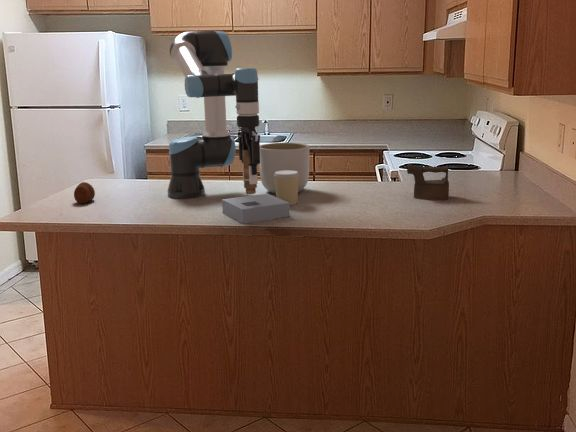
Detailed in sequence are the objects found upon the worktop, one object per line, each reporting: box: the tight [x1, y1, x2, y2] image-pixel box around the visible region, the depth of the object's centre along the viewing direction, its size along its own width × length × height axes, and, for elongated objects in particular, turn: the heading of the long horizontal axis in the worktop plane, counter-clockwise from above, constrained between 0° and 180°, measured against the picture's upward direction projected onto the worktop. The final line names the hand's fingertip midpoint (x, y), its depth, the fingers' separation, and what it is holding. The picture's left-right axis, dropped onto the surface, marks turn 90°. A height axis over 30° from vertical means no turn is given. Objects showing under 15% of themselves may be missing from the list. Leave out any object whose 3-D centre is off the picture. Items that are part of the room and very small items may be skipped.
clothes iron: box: [406, 163, 450, 201], centre depth 246 cm, size 8×16×13 cm, turn 87°
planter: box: [258, 142, 310, 195], centre depth 262 cm, size 21×21×19 cm
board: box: [221, 193, 291, 225], centre depth 227 cm, size 18×18×5 cm
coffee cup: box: [274, 170, 299, 206], centre depth 243 cm, size 9×9×12 cm
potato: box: [73, 181, 96, 205], centre depth 253 cm, size 8×12×8 cm, turn 0°
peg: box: [242, 149, 258, 195], centre depth 219 cm, size 5×5×15 cm
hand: (250, 182), depth 220 cm, fingers closed on peg, 4 cm apart
